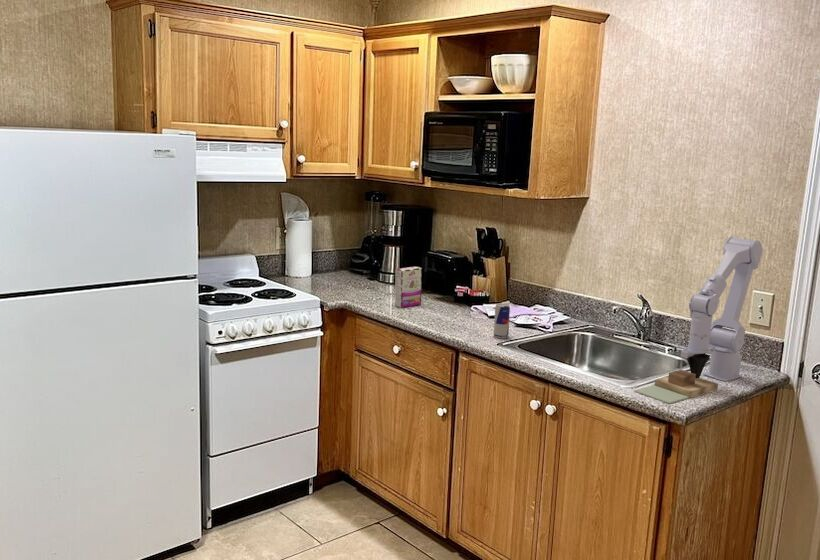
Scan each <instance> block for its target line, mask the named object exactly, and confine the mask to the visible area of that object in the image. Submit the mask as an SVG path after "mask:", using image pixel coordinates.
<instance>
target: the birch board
mask: <svg viewBox="0 0 820 560" xmlns="http://www.w3.org/2000/svg"><path fill="white" fill-rule="evenodd" d="M668 377H669V375H668V376H665V377H661V378H657V379H655V380H654V385H655V386H658V387H661V388H664V389H667V390H670V391H673V392H676V393H678V394H681V395H684V396H687V397H689V398H688V399H691V398H695V397H698V396H701V395H705V394H709V393H711V392H714V391H718V387H719V384H718V382H714V381H711V380H709V379H704V378H702V377H700V378H695V384H692V385H689V386H685V387H681V386H677V385H674V384H671V383H668Z"/></svg>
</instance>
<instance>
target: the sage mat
mask: <svg viewBox="0 0 820 560" xmlns="http://www.w3.org/2000/svg"><path fill="white" fill-rule="evenodd" d="M633 392H634V393H637V394H640V395H642V396H646V397H647V398H650V399H654V400H657V401H659V402H662V403H664V404H667V405H670V404H674V403H678V402H681V401H684V400H688V399H690V398H689V397H687V396H684V395H681V394H678V393H676V392H673V391H670V390H667V389H664V388H661V387H658V386H655V384H654V385H649V386H644V387H642V388H638V389H635V390H633Z"/></svg>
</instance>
